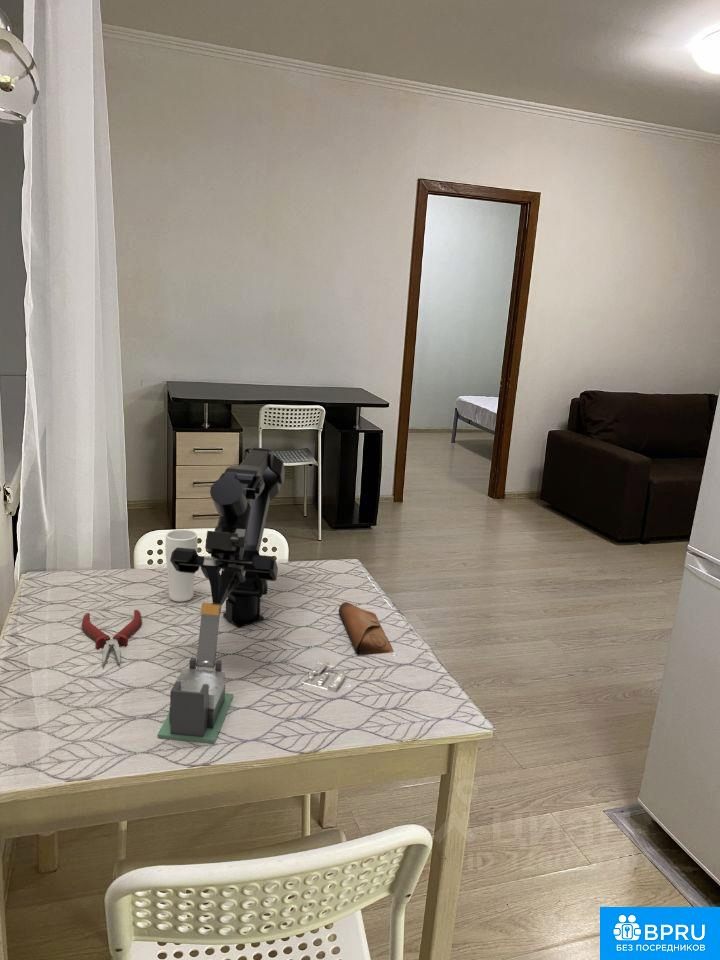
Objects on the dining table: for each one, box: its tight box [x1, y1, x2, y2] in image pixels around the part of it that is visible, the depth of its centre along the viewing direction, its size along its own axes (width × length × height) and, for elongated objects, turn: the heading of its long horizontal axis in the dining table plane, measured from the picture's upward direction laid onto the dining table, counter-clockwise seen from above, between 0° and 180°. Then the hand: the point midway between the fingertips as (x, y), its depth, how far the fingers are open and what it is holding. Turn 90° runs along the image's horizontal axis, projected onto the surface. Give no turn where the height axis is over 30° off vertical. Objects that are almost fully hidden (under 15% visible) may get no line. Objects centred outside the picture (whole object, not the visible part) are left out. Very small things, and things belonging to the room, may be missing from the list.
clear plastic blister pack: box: [300, 661, 347, 693], centre depth 132 cm, size 8×7×2 cm
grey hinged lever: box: [196, 602, 223, 669], centre depth 120 cm, size 2×3×11 cm, turn 87°
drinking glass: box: [164, 528, 198, 603], centre depth 157 cm, size 7×7×15 cm
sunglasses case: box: [338, 601, 395, 656], centre depth 149 cm, size 18×7×7 cm, turn 14°
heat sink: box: [168, 667, 226, 729], centre depth 117 cm, size 8×7×6 cm
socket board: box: [156, 657, 234, 744], centre depth 116 cm, size 13×9×8 cm
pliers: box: [81, 609, 143, 667], centre depth 138 cm, size 11×20×3 cm, turn 18°
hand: (215, 609), depth 126 cm, fingers closed
